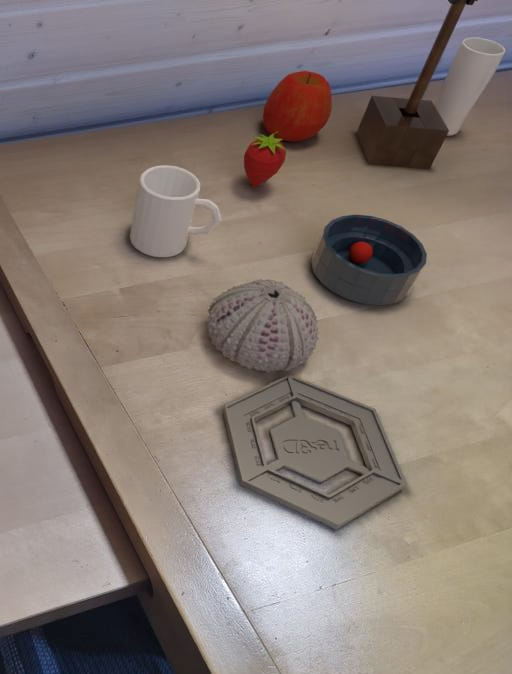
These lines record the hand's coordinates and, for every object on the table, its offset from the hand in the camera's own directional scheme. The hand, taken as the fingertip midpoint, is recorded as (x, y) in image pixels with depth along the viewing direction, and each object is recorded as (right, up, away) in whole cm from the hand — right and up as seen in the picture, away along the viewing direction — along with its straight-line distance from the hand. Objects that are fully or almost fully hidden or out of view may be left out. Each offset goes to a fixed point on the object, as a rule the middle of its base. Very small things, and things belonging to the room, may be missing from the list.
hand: (459, 2), depth 104 cm
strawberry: (-27, -25, +9) cm, 38 cm away
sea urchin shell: (-35, -50, -15) cm, 63 cm away
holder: (-1, -16, +18) cm, 24 cm away
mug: (-43, -36, -2) cm, 56 cm away
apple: (-18, -13, +21) cm, 30 cm away
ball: (-17, -37, -5) cm, 41 cm away
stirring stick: (-1, -12, +13) cm, 17 cm away
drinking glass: (+11, -11, +24) cm, 28 cm away
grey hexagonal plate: (-32, -62, -26) cm, 75 cm away
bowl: (-17, -41, -5) cm, 45 cm away
